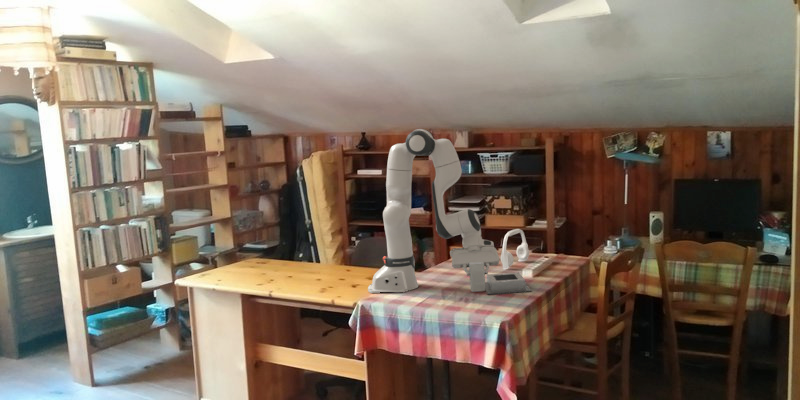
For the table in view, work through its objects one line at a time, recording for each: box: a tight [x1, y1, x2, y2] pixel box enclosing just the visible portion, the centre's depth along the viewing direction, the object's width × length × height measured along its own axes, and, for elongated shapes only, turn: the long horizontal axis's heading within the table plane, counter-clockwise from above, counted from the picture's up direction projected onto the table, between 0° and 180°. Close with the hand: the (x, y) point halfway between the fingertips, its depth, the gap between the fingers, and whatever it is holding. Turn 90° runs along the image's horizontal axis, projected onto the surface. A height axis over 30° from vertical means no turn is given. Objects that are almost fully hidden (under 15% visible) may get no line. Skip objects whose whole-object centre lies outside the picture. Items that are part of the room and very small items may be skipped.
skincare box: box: [468, 262, 486, 293], centre depth 274 cm, size 6×4×12 cm
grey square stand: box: [485, 271, 532, 296], centre depth 275 cm, size 18×18×5 cm
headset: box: [500, 228, 530, 271], centre depth 312 cm, size 20×7×18 cm, turn 140°
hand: (477, 274), depth 273 cm, fingers closed on skincare box, 6 cm apart
